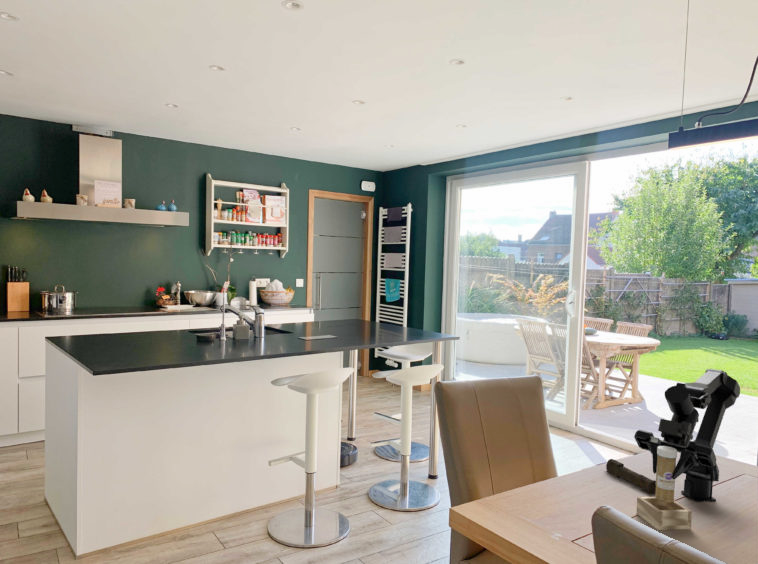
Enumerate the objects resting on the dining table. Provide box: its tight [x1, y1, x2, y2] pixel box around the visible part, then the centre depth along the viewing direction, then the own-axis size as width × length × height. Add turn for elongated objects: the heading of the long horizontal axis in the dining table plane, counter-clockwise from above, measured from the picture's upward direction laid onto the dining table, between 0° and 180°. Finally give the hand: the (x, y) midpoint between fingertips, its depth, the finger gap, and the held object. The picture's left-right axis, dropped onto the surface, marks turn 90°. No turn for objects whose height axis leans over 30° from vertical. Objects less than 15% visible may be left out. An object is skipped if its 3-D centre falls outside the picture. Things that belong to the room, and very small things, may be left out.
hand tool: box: [605, 458, 656, 495], centre depth 169 cm, size 19×4×5 cm, turn 18°
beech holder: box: [635, 496, 693, 531], centre depth 142 cm, size 9×9×4 cm
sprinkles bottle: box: [654, 446, 678, 503], centre depth 142 cm, size 5×5×13 cm
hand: (663, 475), depth 141 cm, fingers closed on sprinkles bottle, 4 cm apart
